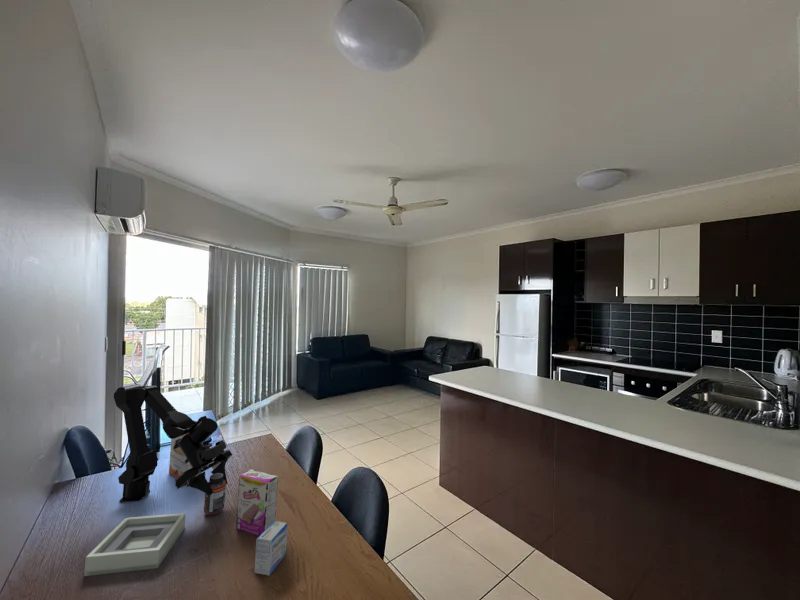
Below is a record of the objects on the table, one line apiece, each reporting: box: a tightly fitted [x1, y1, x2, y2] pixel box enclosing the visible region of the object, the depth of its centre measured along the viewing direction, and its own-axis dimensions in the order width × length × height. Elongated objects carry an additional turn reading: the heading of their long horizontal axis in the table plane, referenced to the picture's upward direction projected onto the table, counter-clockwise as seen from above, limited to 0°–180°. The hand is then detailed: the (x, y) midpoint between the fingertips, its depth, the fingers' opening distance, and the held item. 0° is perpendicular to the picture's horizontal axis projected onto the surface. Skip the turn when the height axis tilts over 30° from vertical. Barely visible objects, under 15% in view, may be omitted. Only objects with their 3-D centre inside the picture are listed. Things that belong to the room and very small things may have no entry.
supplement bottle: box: [203, 473, 227, 516], centre depth 107 cm, size 6×6×11 cm
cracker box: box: [168, 433, 204, 484], centre depth 130 cm, size 14×6×21 cm, turn 58°
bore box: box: [83, 512, 187, 577], centre depth 89 cm, size 16×16×4 cm
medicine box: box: [254, 520, 288, 577], centre depth 86 cm, size 8×4×9 cm, turn 168°
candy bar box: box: [235, 468, 279, 537], centre depth 99 cm, size 11×5×16 cm, turn 71°
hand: (219, 489), depth 106 cm, fingers closed on supplement bottle, 6 cm apart
